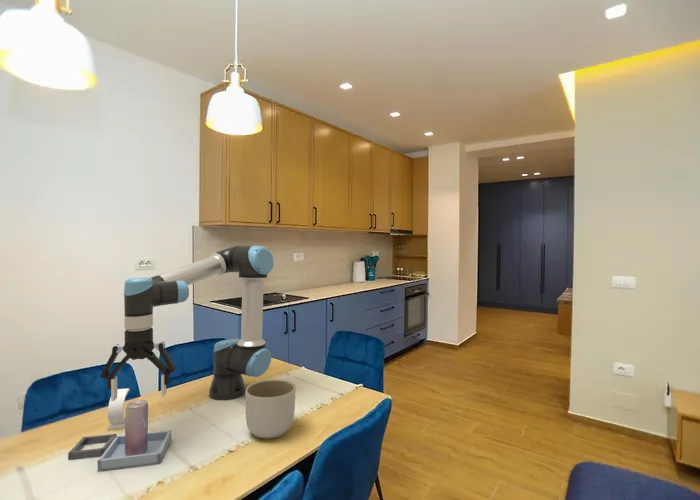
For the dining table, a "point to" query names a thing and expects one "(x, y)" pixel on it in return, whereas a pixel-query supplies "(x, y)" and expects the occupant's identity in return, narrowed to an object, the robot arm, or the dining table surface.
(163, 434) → the tray
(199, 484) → the dining table surface
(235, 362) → the robot arm
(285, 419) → the planter
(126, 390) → the white curved strip
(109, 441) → the socket collar
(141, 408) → the beverage can
